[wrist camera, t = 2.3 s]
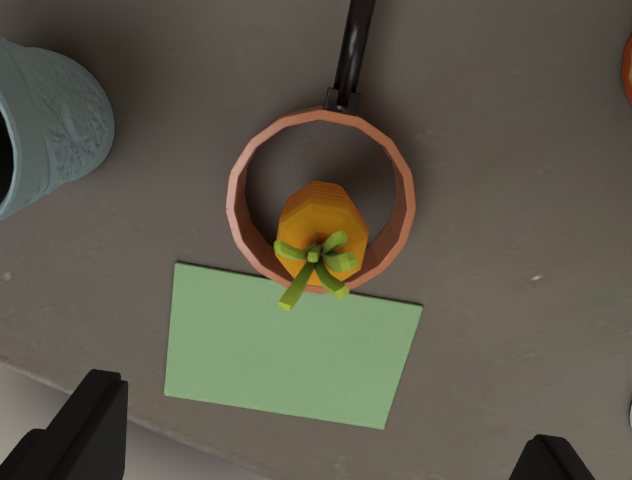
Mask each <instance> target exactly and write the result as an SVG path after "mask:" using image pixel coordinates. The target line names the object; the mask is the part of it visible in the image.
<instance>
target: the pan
mask: <svg viewBox="0 0 632 480" xmlns="http://www.w3.org/2000/svg"><path fill="white" fill-rule="evenodd" d="M375 2H376V0H351V1H350V6H349V11H348V16H347V21H346V26H345V31H344V36H343V41H342V46H341V51H340V56H339V61H338V66H337V71H336V76H335V82H334V87H333V88H331V87H328V89H327V95H326V100H325V105H324V106H316V107H311V108H306V109H302V110H297V111H292V112H287V113H285V114H283V115H282V116H281V117H279V118H278V119H276V120H275V121H274V122H272V123H271V124H269V125H268V126H267V127H265V128H264V129H262V130H261V131H260V132H258V133H257V134H256V135H255V136H254V137H252V138H251V139H250V140H249V141H248V143H247V144H246V146H245V148H244V150H243V151H242V153H241V155H240V156H239V158H238V160H237V161H236V163H235V165H234V166H233V168H232V170H231V171H230V174H229V181H228V189H227V197H226V205H225V209H226V210H225V211H226V215H227V218H228V222H229V225H230V229H231V232H232V236H233V239H234V242H235V244H236V246H237V247H238V248H239V249H240V251H241V252H242V253H243V254H244V256H245V257H246V258H247V259H248V261H249V262H250V263H251V265H252V266H253V267H254V268H255V270H257V271H258V272H259V273H261V274H263V275H264V276H266V277H268V278H269V279H271V280H273V281H275V282H276V283H278V284H280V285H281V286H283V287H285V288H287V289H288V287H289V286H290V285H291V283H292V282H293V280H294V278H293V277H292V276H291V274H290V273H289V272H288V271H287V269H286V268H285V267H284V266H283V264H282V263H281V262H280V261H279V259H278V258H277V257H276V255H275V250H274V248H273V247H272V246H270V245H269V244H268V243H267V242H266V240H265V239H264V238H263V237H262V235H261V234H260V233H259V231H258V230H257V229H256V227H255V226H254V225H253V223H252V222H251V218H250V215H249V211H248V207H247V204H246V200H245V196H244V191H245V184H246V177H247V169H248V165H249V163H250V161H251V160H252V158H253V156H254V155H255V153H256V151H257V150H258V148H259V146H260V145H261V144H262V143H263V142H265V141H266V140H268V139H269V138H271V137H272V136H273V135H275V134H276V133H278V132H279V131H281V130H282V129H283V128H285V127H288V126H293V125H298V124H303V123H307V122H312V121H317V120H324V121H329V122H334V123H339V124H344V125H349V126H354V127H357V128H358V129H360V130H361V131H363V132H364V133H366V134H367V135H368V136H370V137H371V138H373V139H374V140H376V141H377V142H378V143H379V144H380V145H381V147H382V148H383V150H384V152H385V153H386V155H387V157H388V158H389V160H390V162H391V163H392V165H393V172H394V179H395V186H396V193H397V195H396V198H395V202H394V206H393V209H392V213H391V217H390V220H389V223H388V224H387V225H386V227H385V228H384V229H383V231H382V232H381V233H380V234H379V236H378V237H377V238H376V240H375V241H374V242H373V244H372V245H370V246H368V247H367V248H366V249H365V253H364V257H363V262H362V266H361V269H360V270H359V271H358V272H356V273H355V274H353V275H351V276H350V277H348V278H347V279H345V280H343V281H342V282H343V283H344V284H345V285H346V286H347V287H348V288H349V289H354V288H356V287H358V286H360V285H361V284H363V283H365V282H366V281H368V280H370V279H371V278H373V277H375V276H377V275H378V274H380V273H382V272H383V271H384V270H386V268H387V267H388V266H389V265H390V263H391V262H392V261H393V260H394V258H395V257H396V256H397V255H398V253H399V252H400V251H401V250H402V248H403V247H404V246H405V244H406V242H407V240H408V236H409V233H410V229H411V226H412V223H413V219H414V216H415V212H416V201H415V193H414V185H413V177H412V173H411V170H410V168H409V167H408V165H407V163H406V162H405V160H404V158H403V157H402V155H401V153H400V152H399V150H398V148H397V147H396V145H395V143H394V142H393V141H392V139H390V138H389V137H388V136H387V135H385V134H384V133H383V132H382V131H380V130H379V129H377V128H376V127H374V126H373V125H372V124H370V123H369V122H367V121H366V120H365V119H363V118H362V117H360V116H359V115H358V114H357V112H358V107H359V103H360V98H361V94H359V93H356V90H357V85H358V81H359V76H360V71H361V67H362V62H363V58H364V53H365V48H366V44H367V39H368V34H369V30H370V25H371V21H372V16H373V11H374V7H375ZM304 292H309V293H315V294H326V293H329V292H328V291H327V290H326V289H325V288H324V287H321V286H314V285H308V284H307V285H306V287H305V289H304Z"/></svg>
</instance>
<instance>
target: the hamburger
mask: <svg viewBox="0 0 632 480" xmlns="http://www.w3.org/2000/svg"><path fill="white" fill-rule="evenodd" d="M621 78H622V81H623V84H624V88H625V91H626V94H627V97H628V100H629V102H630V103H631V104H632V35H631V37H630V39H629V41H628V43H627V45H626V47H625V49H624V57H623V66H622V75H621Z"/></svg>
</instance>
